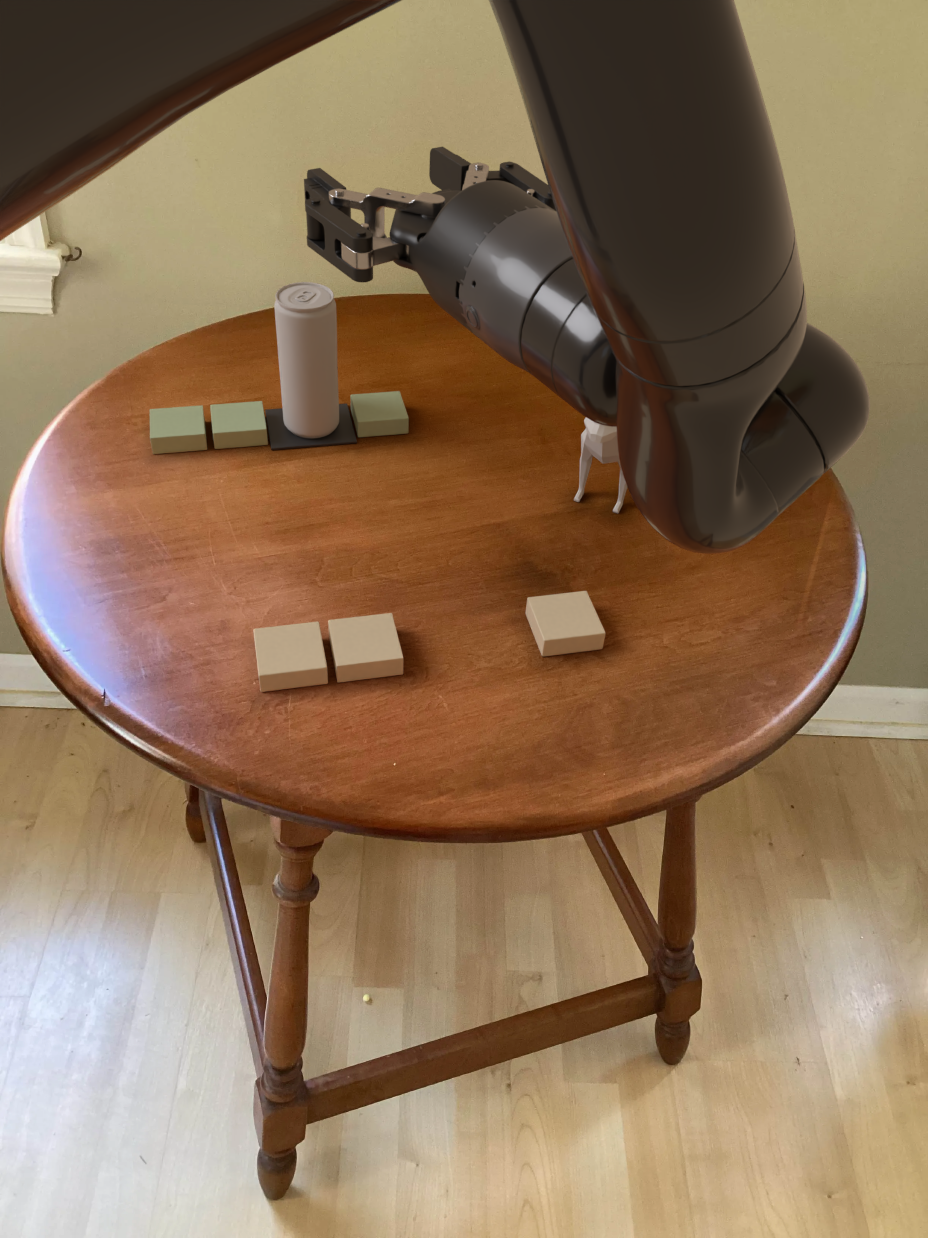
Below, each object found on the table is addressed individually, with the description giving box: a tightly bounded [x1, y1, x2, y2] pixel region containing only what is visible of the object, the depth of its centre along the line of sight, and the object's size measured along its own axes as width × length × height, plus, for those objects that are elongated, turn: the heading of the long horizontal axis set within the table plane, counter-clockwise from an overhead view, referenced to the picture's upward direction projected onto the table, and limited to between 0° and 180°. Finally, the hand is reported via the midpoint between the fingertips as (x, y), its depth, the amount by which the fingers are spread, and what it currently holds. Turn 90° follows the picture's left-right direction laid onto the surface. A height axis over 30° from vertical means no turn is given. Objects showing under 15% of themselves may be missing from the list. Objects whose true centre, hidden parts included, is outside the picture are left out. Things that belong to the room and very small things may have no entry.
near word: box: [252, 590, 606, 693], centre depth 71 cm, size 23×4×2 cm, turn 103°
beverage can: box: [273, 281, 340, 439], centre depth 86 cm, size 5×5×12 cm
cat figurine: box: [573, 417, 628, 514], centre depth 83 cm, size 4×20×14 cm, turn 157°
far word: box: [149, 390, 410, 455], centre depth 89 cm, size 21×6×2 cm, turn 103°
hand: (374, 173), depth 64 cm, fingers open, 8 cm apart
